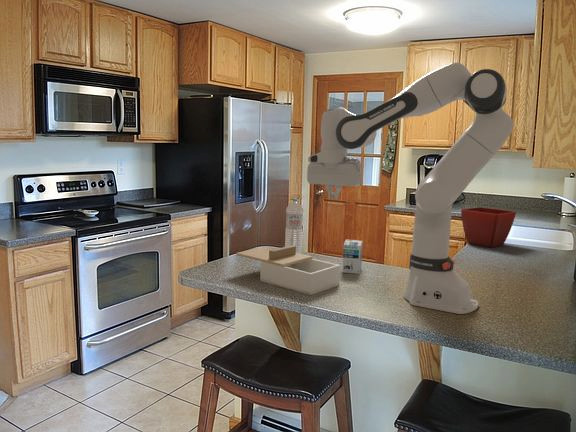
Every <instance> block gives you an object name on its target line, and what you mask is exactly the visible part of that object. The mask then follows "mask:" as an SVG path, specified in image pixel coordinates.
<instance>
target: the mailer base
mask: <svg viewBox="0 0 576 432" xmlns="http://www.w3.org/2000/svg"><path fill="white" fill-rule="evenodd" d="M259 273H260V277H259V281H260V282H262V283H266V284H270V285H273V286H277V287H281V288H284V289H288V290H290V291H294V292H298V293H301V294H304V295H307V296H312V295H316V294H318V293H321V292H325V291H327V290H330V289H332V288H335V287H338V286H340V282H341V281H340V276H341V264H337V263H333V262H328V261H324V260H319V259H315V258H312V259H309V260H306V261H302V262H298V263H294V264H291V265H287V266H283V267H282V266H278V265H274V264H270V263H266V262H262V261H260V271H259Z"/></svg>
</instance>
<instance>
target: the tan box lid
mask: <svg viewBox="0 0 576 432" xmlns="http://www.w3.org/2000/svg"><path fill="white" fill-rule="evenodd" d="M235 255H236V256H238V257H242V258H246V259H252V260H255V261H259V262H261V261H262V262H266V263H270V264H274V265H278V266H282V267H283V266H287V265H291V264H294V263H298V262H302V261H306V260H309V259H313V256H312V255H308V254H303V253H302V254H299V253H296V246H293V245H291V246H287V247H285V246H284V247H278V248H275V247H271V246H262V247H257V248H253V249H248V250H244V251H239V252H236V254H235Z"/></svg>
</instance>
